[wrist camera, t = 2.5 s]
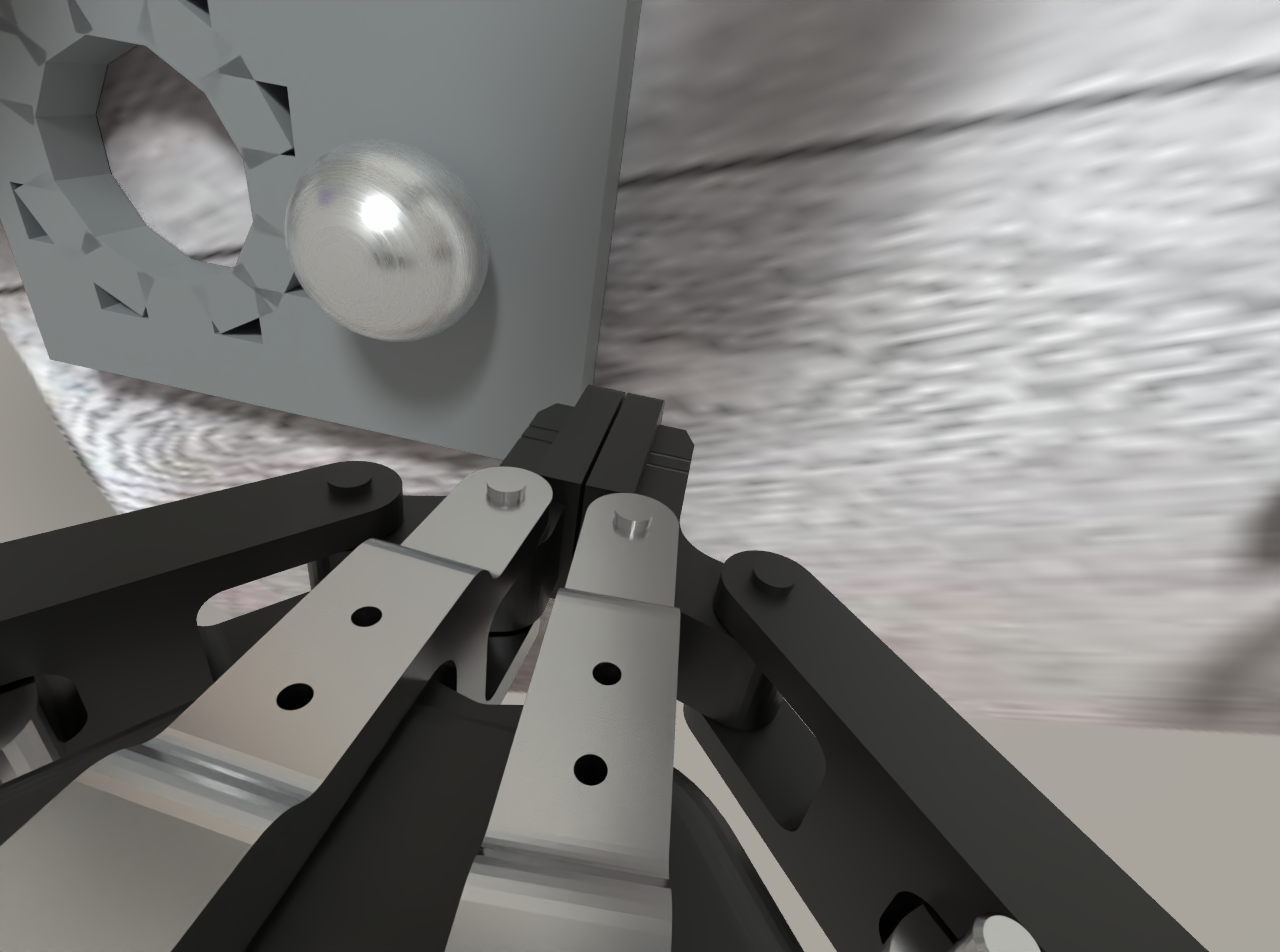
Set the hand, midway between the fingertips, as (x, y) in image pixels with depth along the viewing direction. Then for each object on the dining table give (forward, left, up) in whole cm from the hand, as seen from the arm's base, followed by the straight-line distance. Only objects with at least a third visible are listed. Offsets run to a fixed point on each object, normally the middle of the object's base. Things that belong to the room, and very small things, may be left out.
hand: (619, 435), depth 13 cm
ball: (0, -9, -9) cm, 13 cm away
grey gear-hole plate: (0, -15, -14) cm, 21 cm away
